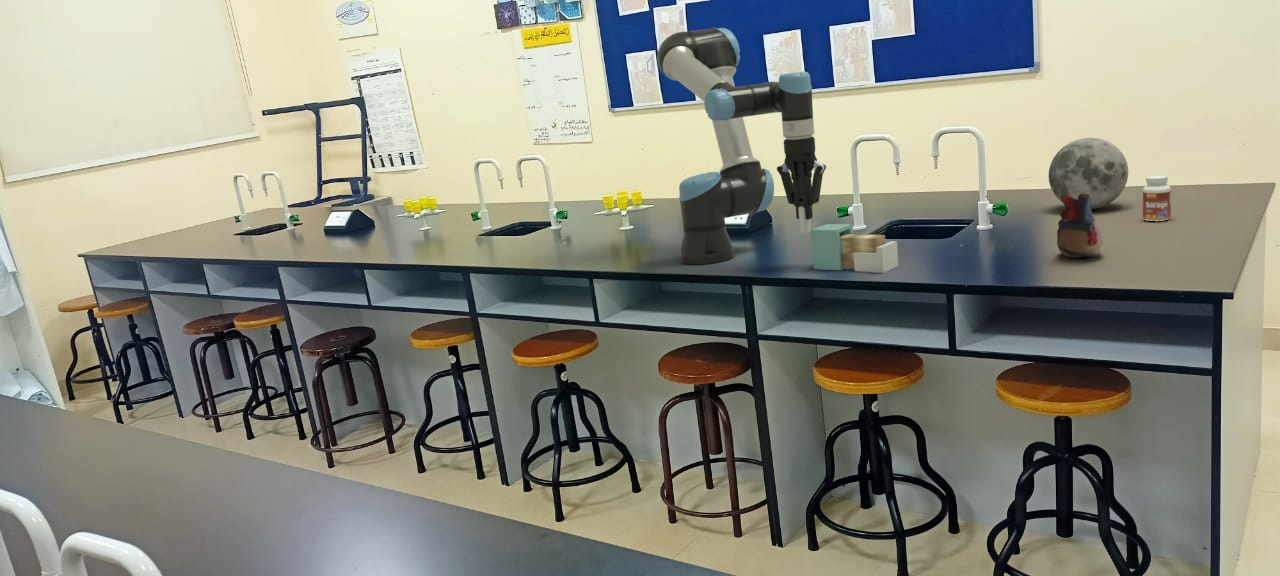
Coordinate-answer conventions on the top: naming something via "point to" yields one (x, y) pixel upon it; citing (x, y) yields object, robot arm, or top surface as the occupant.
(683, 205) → the robot arm
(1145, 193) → the pill bottle
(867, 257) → the white stepped block
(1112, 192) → the moon model
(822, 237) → the cap
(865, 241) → the wooden block
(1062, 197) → the anatomical model
